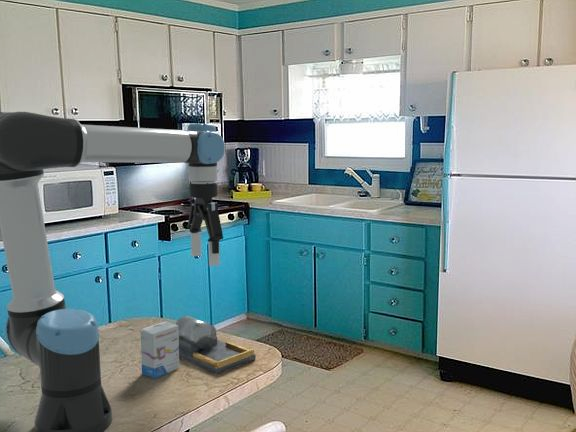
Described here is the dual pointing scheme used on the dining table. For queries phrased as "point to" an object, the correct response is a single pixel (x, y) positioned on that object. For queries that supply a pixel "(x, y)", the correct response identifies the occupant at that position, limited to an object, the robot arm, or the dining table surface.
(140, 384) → the dining table surface
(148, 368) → the ink box
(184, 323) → the motor unit
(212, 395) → the dining table surface
